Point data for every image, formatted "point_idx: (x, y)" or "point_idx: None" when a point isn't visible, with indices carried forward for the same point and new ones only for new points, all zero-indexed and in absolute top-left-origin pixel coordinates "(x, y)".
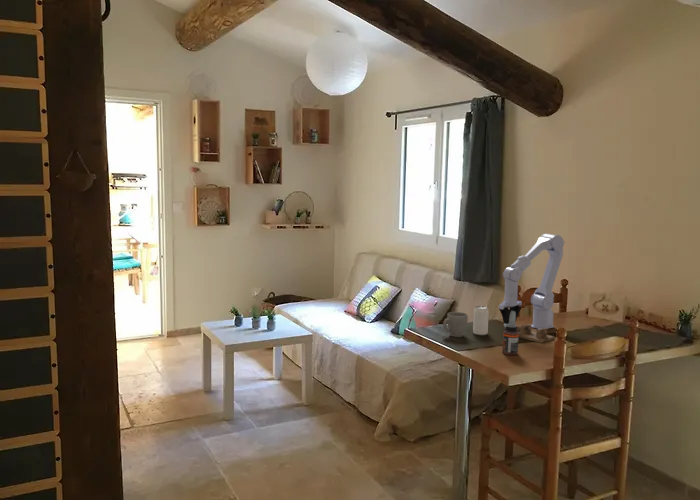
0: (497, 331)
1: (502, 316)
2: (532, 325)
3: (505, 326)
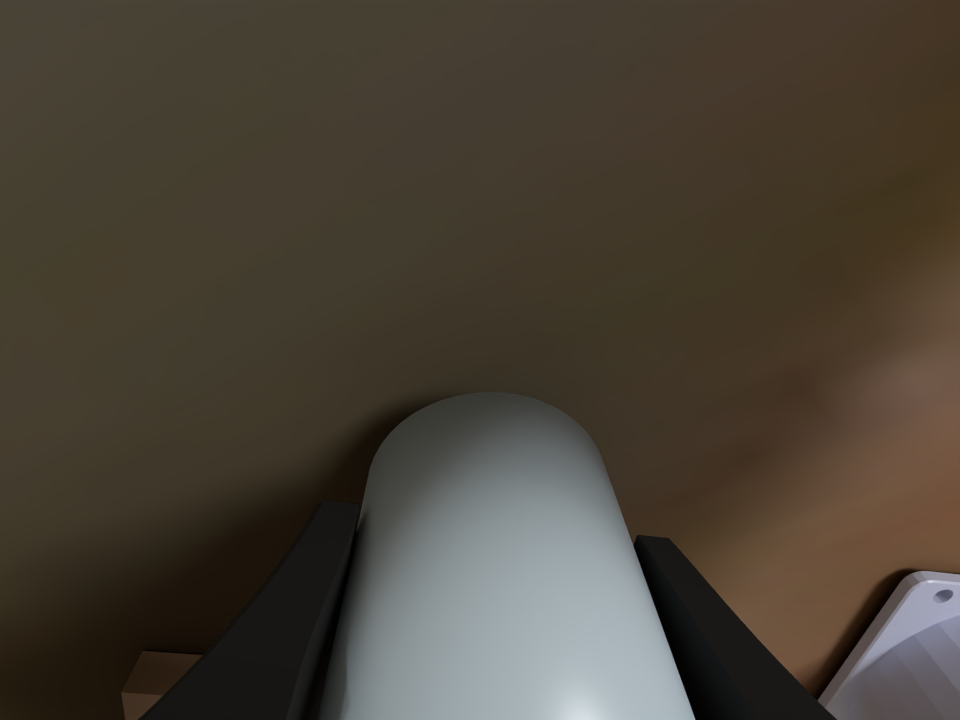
0: (141, 373)
1: (221, 643)
2: (955, 614)
3: (370, 472)
